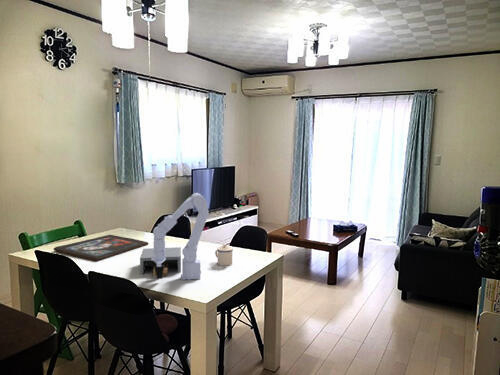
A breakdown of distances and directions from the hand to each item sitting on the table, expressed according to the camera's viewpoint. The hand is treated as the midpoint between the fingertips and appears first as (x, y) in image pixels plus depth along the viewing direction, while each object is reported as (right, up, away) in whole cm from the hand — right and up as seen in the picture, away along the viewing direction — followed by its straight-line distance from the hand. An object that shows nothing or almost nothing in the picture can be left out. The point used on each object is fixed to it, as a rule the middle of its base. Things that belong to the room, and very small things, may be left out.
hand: (159, 276), depth 187 cm
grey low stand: (-3, 0, +18) cm, 19 cm away
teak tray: (-2, 0, +13) cm, 13 cm away
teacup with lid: (+30, +1, +28) cm, 41 cm away
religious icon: (-51, +4, +55) cm, 75 cm away
